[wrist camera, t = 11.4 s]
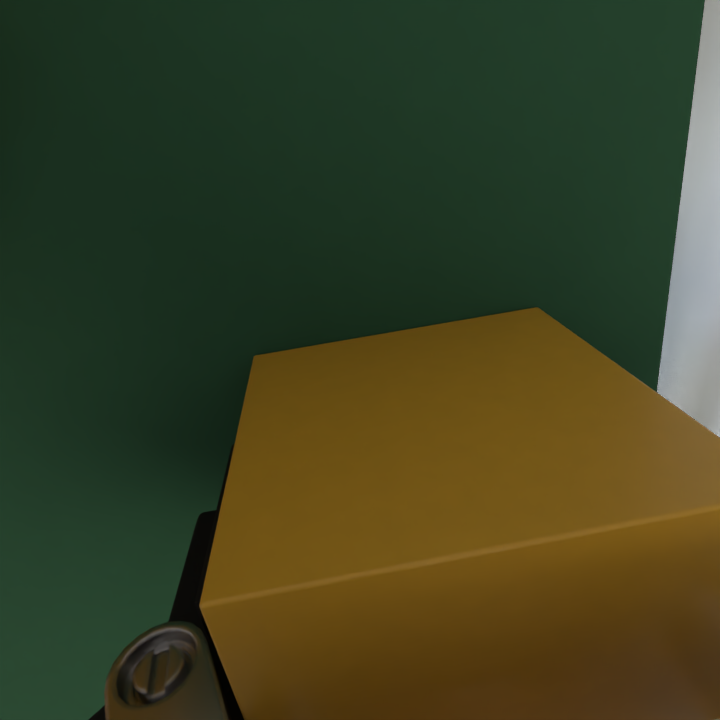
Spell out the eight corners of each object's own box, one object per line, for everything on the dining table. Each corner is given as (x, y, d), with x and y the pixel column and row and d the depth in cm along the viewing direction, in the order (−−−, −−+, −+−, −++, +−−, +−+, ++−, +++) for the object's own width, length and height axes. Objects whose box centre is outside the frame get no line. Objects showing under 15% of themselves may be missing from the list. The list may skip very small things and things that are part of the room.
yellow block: (307, 567, 13) (311, 892, 7) (252, 355, 10) (195, 606, 5) (535, 524, 13) (706, 806, 7) (538, 305, 10) (798, 491, 5)
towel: (-16, 760, 15) (-28, 783, 15) (-834, -257, 6) (-944, -295, 6) (614, 633, 16) (625, 651, 15) (729, -433, 7) (766, -483, 6)
